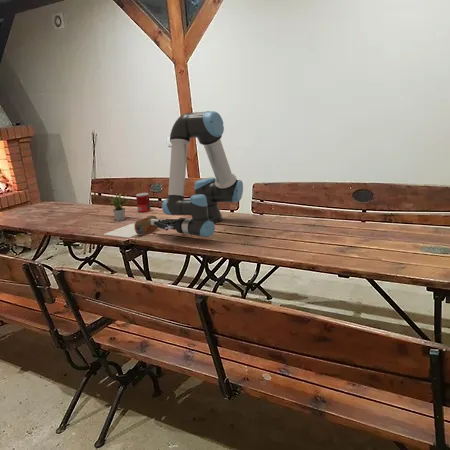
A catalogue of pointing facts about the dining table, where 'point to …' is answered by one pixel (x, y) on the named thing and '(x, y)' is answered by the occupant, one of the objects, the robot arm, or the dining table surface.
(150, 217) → the tin
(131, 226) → the mat
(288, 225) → the dining table surface
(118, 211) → the house plant
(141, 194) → the canned food
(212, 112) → the robot arm
